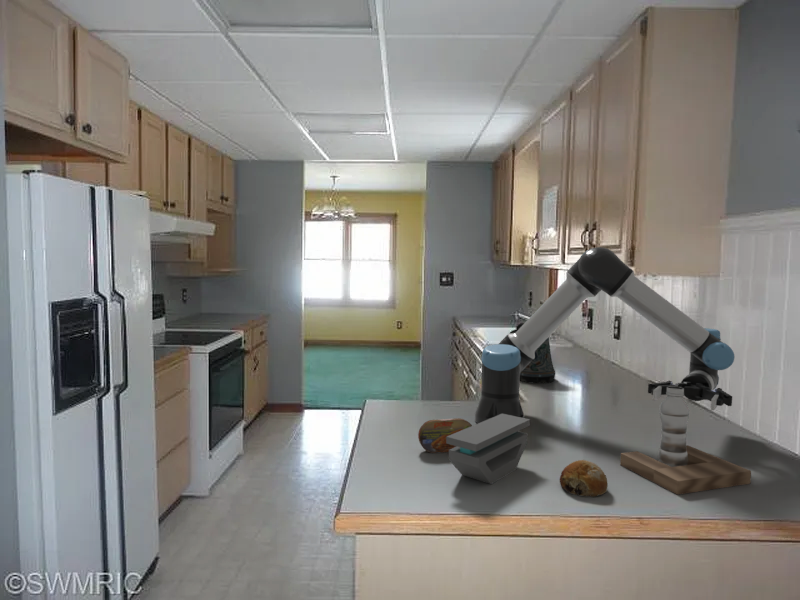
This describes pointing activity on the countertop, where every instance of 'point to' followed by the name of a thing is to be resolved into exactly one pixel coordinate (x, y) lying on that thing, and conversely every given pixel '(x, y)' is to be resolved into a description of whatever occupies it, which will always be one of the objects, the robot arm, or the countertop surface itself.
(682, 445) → the plastic bottle
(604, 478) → the bread roll
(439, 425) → the tin
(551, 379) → the beer stein
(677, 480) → the notched board
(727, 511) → the countertop surface
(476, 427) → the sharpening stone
